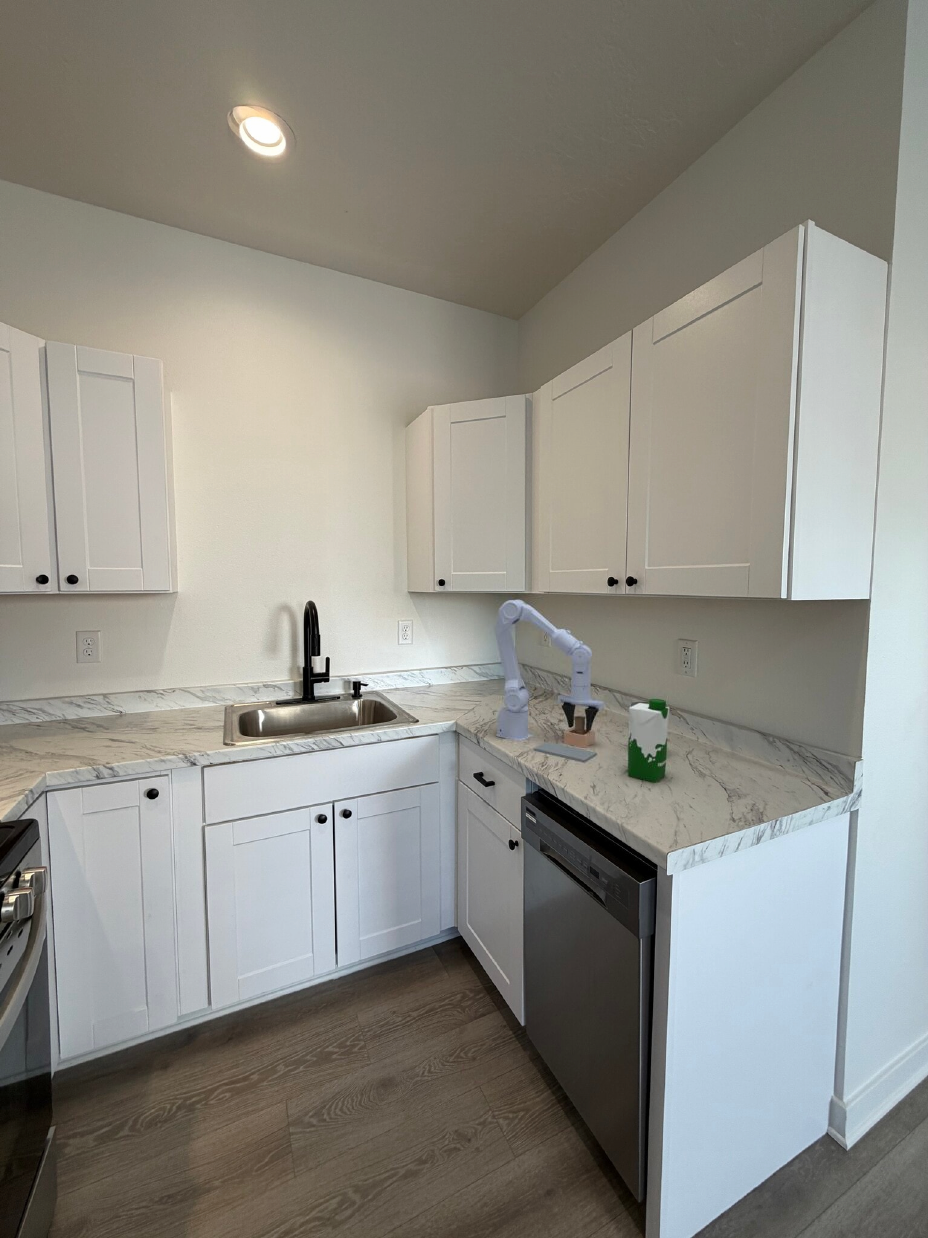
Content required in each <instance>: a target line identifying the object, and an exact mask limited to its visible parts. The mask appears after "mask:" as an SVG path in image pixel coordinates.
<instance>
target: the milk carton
mask: <svg viewBox="0 0 928 1238" xmlns="http://www.w3.org/2000/svg"><path fill="white" fill-rule="evenodd" d="M648 702H649V704H643V703H638V704H636V705H634V706H632V707H631V706H630V707H628V742H627V743H628V744H627V745H628V746H627V747H628V749H627V775H628V777H631V778H633V779H639V780H643V781H646V782H647V781H648V782H650V783H654V784H656V783H657V782H659V781H660V780H661V779H662V778H663V777H664V776H666V767H667V766H666V765H667V754H668V753H667V751H668V749H667V748H668V726H669V724H668V723H669V713H670V707H669V706H668V707H666V706H667V701H666V700H665V699H659V698H650V699H649V701H648Z"/></svg>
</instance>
